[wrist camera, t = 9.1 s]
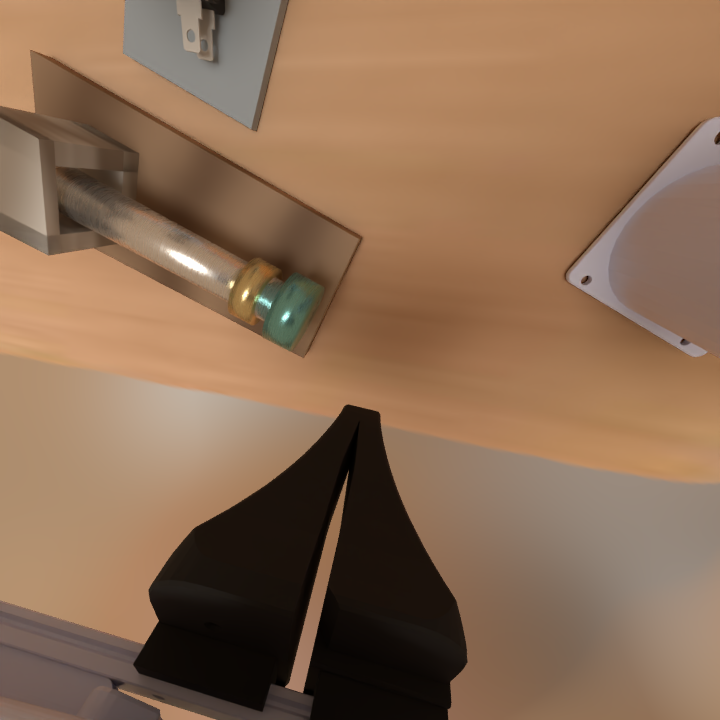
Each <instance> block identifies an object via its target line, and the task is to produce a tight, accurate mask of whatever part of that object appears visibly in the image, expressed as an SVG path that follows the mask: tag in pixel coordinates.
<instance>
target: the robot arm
mask: <svg viewBox="0 0 720 720" xmlns="http://www.w3.org/2000/svg"><path fill="white" fill-rule="evenodd" d="M719 132H720V117H714V118H710V119H707V120H705V121H703V122H702V123H701V124H700V125H698V126H697V127H696V129H695V130H694V131H693V132H692V133H691V134H690V135H689V136H688V137H687V139H686V140H685V141H684V142H683V143H682V144H681V145H680V146H679V148H678V149H677V150H676V151H675V152H674V153H673V154H672V155H671V156H670V158H669V159H668V160H667V161H666V162H665V163H664V164H663V165H662V166H661V168H660V169H659V170H658V171H657V172H656V173H655V174H654V175H653V177H652V178H651V179H650V180H649V181H648V182H647V183H646V184H645V185H644V187H643V188H642V189H641V190H640V191H639V192H638V193H637V194H636V196H635V197H634V198H633V199H632V200H631V201H630V202H629V203H628V204H627V206H626V207H625V208H624V209H623V210H622V211H621V212H620V213H619V214H618V216H617V217H616V218H615V219H614V220H613V221H612V222H611V223H610V225H609V226H608V227H607V228H606V229H605V230H604V231H603V232H602V233H601V235H600V236H599V237H598V238H597V239H596V240H595V241H594V242H593V243H592V245H591V246H590V247H589V248H588V249H587V250H586V251H585V252H584V254H583V255H582V256H581V257H580V258H579V259H578V260H577V261H576V262H575V264H574V265H573V266H572V267H571V268H570V269H569V270H568V272H567V273H566V280H567V281H568V282H569V283H571V284H572V285H574V286H576V287H577V288H579V289H581V290H582V291H584V292H585V293H587V294H589V295H590V296H592V297H594V298H595V299H597V300H599V301H600V302H602V303H604V304H605V305H607V306H609V307H610V308H612V309H614V310H615V311H617V312H619V313H620V314H622V315H623V316H625V317H627V318H628V319H630V320H632V321H633V322H635V323H637V324H638V325H640V326H642V327H643V328H645V329H647V330H648V331H650V332H652V333H653V334H655V335H656V336H658V337H660V338H661V339H663V340H665V341H666V342H668V343H670V344H671V345H673V346H675V347H676V348H678V349H680V350H681V351H683V352H685V353H686V354H688V355H690V356H692V357H699V356H702V355H704V354H706V353H707V352H709V353H711V354H713V355H715V356H717V357H719V358H720V141H719V143H717V144H715V143H714V139H715V137H716V135H717V134H718V133H719ZM585 276H588V280H587V281H586V282H585V283H582V284H581V280H582V278H583V277H585ZM682 339H685V341H683V342H681V340H682ZM348 471H349V474H348V480H347V487H346V495H345V501H344V508H343V514H342V521H341V528H340V533H339V538H338V543H337V547H336V552H335V556H334V561H333V565H332V569H331V574H330V578H329V582H328V586H327V591H326V595H325V599H324V604H323V608H322V613H321V617H320V621H319V626H318V630H317V635H316V639H315V643H314V647H313V652H312V656H311V661H310V665H309V669H308V674H307V678H306V682H305V687H304V691H303V693H300V692H297V691H294V690H291V689H288V688H285V686H286V685H287V684H288V683H289V681H290V677H291V673H292V669H293V665H294V660H295V657H296V652H297V649H298V645H299V641H300V637H301V633H302V629H303V625H304V621H305V617H306V613H307V609H308V606H309V601H310V598H311V594H312V590H313V585H314V582H315V578H316V574H317V570H318V566H319V562H320V559H321V555H322V551H323V547H324V543H325V539H326V535H327V532H328V529H329V525H330V522H331V519H332V516H333V514H334V510H335V508H336V505H337V502H338V499H339V496H340V493H341V490H342V488H343V485H344V482H345V479H346V476H347V473H348ZM149 597H150V602H151V604H152V606H153V608H154V610H155V613H156V615H157V617H158V619H159V622H158V623H157V625H156V627H155V629H154V630H153V632H152V633H151V635H150V637H149V638H148V640H147V642H146V643H145V645H144V644H140V643H137V642H134V641H130V640H127V639H124V638H121V637H117V636H114V635H111V634H108V633H105V632H101V631H98V630H95V629H92V628H88V627H85V626H81V625H78V624H75V623H72V622H69V621H65V620H62V619H59V618H56V617H52V616H49V615H46V614H42V613H39V612H36V611H33V610H29V609H26V608H23V607H19V606H16V605H13V604H10V603H7V602H3V601H0V720H162V718H161V717H160V710H159V709H157V708H155V707H153V706H151V705H148V704H146V703H144V702H142V701H140V700H137V699H135V698H133V697H131V696H128V695H126V694H124V693H122V692H120V691H118V688H119V689H122V690H125V691H128V692H131V693H135V694H138V695H141V696H144V697H147V698H150V699H153V700H157V701H160V702H163V703H166V704H169V705H172V706H176V707H179V708H182V709H185V710H188V711H191V712H195V713H198V714H201V715H204V716H207V717H210V718H213V719H216V720H448V709H449V708H450V707H451V690H450V681H451V680H453V679H454V678H455V677H456V676H457V675H458V674H459V673H460V672H461V671H462V670H463V669H464V667H465V665H466V663H467V649H466V641H465V636H464V631H463V626H462V622H461V617H460V614H459V610H458V606H457V602H456V600H455V598H454V596H453V595H452V593H451V591H450V590H449V588H448V587H447V585H446V584H445V582H444V581H443V579H442V577H441V576H440V574H439V572H438V571H437V569H436V567H435V566H434V564H433V562H432V560H431V559H430V557H429V555H428V553H427V552H426V550H425V548H424V546H423V544H422V542H421V540H420V538H419V536H418V534H417V532H416V530H415V529H414V526H413V524H412V522H411V521H410V519H409V516H408V514H407V512H406V510H405V507H404V505H403V503H402V500H401V498H400V495H399V493H398V490H397V487H396V485H395V482H394V479H393V476H392V473H391V470H390V466H389V463H388V459H387V455H386V451H385V447H384V443H383V437H382V431H381V423H380V413H379V412H377V411H373V410H369V409H365V408H361V407H357V406H352V405H346V406H344V408H343V410H342V411H341V413H340V414H339V416H338V417H337V419H336V420H335V421H334V423H333V424H332V425H331V426H330V427H329V429H328V430H327V431H326V432H325V433H324V434H323V436H321V438H320V439H319V440H318V441H317V442H316V443H315V444H314V445H313V446H312V447H311V448H310V449H309V450H308V451H307V452H306V453H305V454H304V455H303V456H302V457H300V458H299V459H298V460H297V461H296V462H295V463H294V464H292V465H291V466H290V467H289V468H288V469H286V470H285V471H284V472H283V473H281V474H280V475H279V476H277V477H276V478H275V479H273V480H272V481H271V482H269V483H268V484H267V485H265V486H264V487H262V488H261V489H260V490H258V491H256V492H255V493H253V494H252V495H250V496H249V497H247V498H246V499H244V500H242V501H241V502H239V503H238V504H236V505H235V506H233V507H231V508H230V509H228V510H226V511H224V512H223V513H221V514H219V515H217V516H216V517H213V518H212V519H210V520H208V521H206V522H204V523H202V524H201V525H199V526H197V527H195V528H194V529H193V530H192V531H191V532H190V534H189V535H188V536H187V537H186V538H185V539H184V540H183V542H182V543H181V544H180V545H179V546H178V548H177V549H176V550H175V551H174V552H173V554H172V555H171V557H170V558H169V559H168V561H167V562H166V564H165V565H164V567H163V568H162V570H161V571H160V573H159V574H158V576H157V577H156V579H155V580H154V582H153V583H152V585H151V587H150V588H149Z"/></svg>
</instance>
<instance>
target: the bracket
mask: <svg viewBox="0 0 720 720" xmlns="http://www.w3.org/2000/svg"><path fill="white" fill-rule="evenodd" d="M30 55H31V67H32V78H33V90H34V101H35V113H31V112H26V111H22V110H17V109H12V108H7V107H3V106H0V231H2V232H4V233H6V234H8V235H10V236H12V237H14V238H16V239H18V240H20V241H22V242H23V243H25V244H27V245H29V246H31V247H33V248H35V249H37V250H39V251H41V252H43V253H45V254H47V255H54V254H60V253H66V252H72V251H78V250H84V249H90V248H95V249H97V250H98V251H100V252H102V253H104V254H106V255H108V256H110V257H112V258H114V259H116V260H118V261H119V262H121V263H123V264H125V265H127V266H129V267H131V268H133V269H135V270H137V271H139V272H140V273H142V274H144V275H146V276H148V277H150V278H152V279H154V280H156V281H158V282H159V283H161V284H163V285H165V286H167V287H169V288H171V289H173V290H175V291H177V292H179V293H180V294H182V295H184V296H186V297H188V298H190V299H192V300H194V301H196V302H198V303H200V304H201V305H203V306H205V307H207V308H209V309H211V310H213V311H215V312H217V313H219V314H221V315H222V316H224V317H226V318H228V319H230V320H232V321H234V322H236V323H238V324H240V325H241V326H243V327H245V328H247V329H249V330H251V331H253V332H255V333H257V334H259V335H261V336H262V329H263V324H264V321H263V320H260V321H259V322H258V323H257V324H255V325H250V324H249V323H247V322H245V321H243V320H241V319H239V318H237V317H235V316H233V315H231V314H230V313H229V311H228V302H227V301H225V300H223V299H221V298H219V297H217V296H215V295H213V294H212V293H210V292H208V291H206V290H204V289H202V288H200V287H198V286H196V285H195V284H193V283H191V282H189V281H187V280H185V279H183V278H181V277H180V276H178V275H176V274H174V273H172V272H170V271H168V270H166V269H164V268H163V267H161V266H159V265H157V264H155V263H153V262H151V261H149V260H147V259H146V258H144V257H142V256H140V255H138V254H136V253H134V252H132V251H130V250H129V249H127V248H125V247H123V246H121V245H119V244H117V243H115V242H113V241H112V240H110V239H108V238H106V237H104V236H102V235H100V234H98V233H96V232H95V231H93V230H91V229H89V228H87V227H85V226H83V225H81V224H79V223H78V222H76V221H74V220H72V219H70V218H68V217H66V216H64V215H62V214H61V213H59V212H58V197H57V181H56V166H60V167H73V168H76V169H78V170H80V171H82V172H84V173H86V174H87V175H89V176H91V177H93V178H95V179H96V180H98V181H100V182H102V183H104V184H106V185H107V186H109V187H111V188H113V189H115V190H117V191H118V192H120V193H122V194H124V195H126V196H128V197H129V198H131V199H133V200H135V201H137V202H139V203H140V204H142V205H144V206H146V207H148V208H150V209H151V210H153V211H155V212H157V213H159V214H160V215H162V216H164V217H166V218H168V219H170V220H171V221H173V222H175V223H177V224H179V225H181V226H182V227H184V228H186V229H188V230H190V231H192V232H193V233H195V234H197V235H199V236H201V237H203V238H204V239H206V240H208V241H210V242H212V243H214V244H215V245H217V246H219V247H221V248H223V249H224V250H226V251H228V252H230V253H232V254H234V255H235V256H237V257H239V258H241V259H243V260H245V261H246V262H248V263H249V262H250V261H251V260H252V259H254V258H261V259H262V260H264V261H266V262H268V263H270V264H271V265H273V266H275V267H277V268H279V269H280V270H281V271H282V281H283V282H286V280H287V279H288V278H289V277H290V276H291V275H292V274H293V273H295V272H298V273H299V274H301V275H303V276H305V277H307V278H309V279H310V280H312V281H314V282H316V283H318V284H319V285H321V286H323V287H324V288H325V290H324V294H323V297H322V300H321V302H320V304H319V307H318V309H317V311H316V313H315V315H314V317H313V319H312V321H311V323H310V325H309V327H308V328H307V330H306V332H305V334H304V335H303V337H302V338H301V340H300V341H299V343H298V344H297V346H296V347H295V348H294V349H293V350H292V351H291V352H293V353H295V354H297V355H299V356H301V357H303V358H304V356H305V355H306V353H307V352H308V350H309V348H310V346H311V344H312V342H313V340H314V338H315V335H316V333H317V331H318V329H319V327H320V325H321V323H322V321H323V319H324V317H325V314H326V312H327V310H328V308H329V306H330V304H331V302H332V300H333V298H334V296H335V293H336V291H337V289H338V287H339V285H340V283H341V281H342V279H343V277H344V275H345V272H346V270H347V268H348V266H349V264H350V262H351V260H352V258H353V256H354V254H355V251H356V249H357V247H358V245H359V243H360V241H361V239H362V237H361V236H359V235H357V234H356V233H354V232H352V231H351V230H349V229H347V228H345V227H344V226H342V225H340V224H338V223H337V222H335V221H333V220H331V219H330V218H328V217H326V216H325V215H323V214H321V213H319V212H318V211H316V210H314V209H312V208H311V207H309V206H307V205H306V204H304V203H302V202H300V201H299V200H297V199H295V198H293V197H292V196H290V195H288V194H286V193H285V192H283V191H281V190H280V189H278V188H276V187H274V186H273V185H271V184H269V183H267V182H266V181H264V180H262V179H260V178H259V177H257V176H255V175H254V174H252V173H250V172H248V171H247V170H245V169H243V168H241V167H240V166H238V165H236V164H235V163H233V162H231V161H229V160H228V159H226V158H224V157H222V156H221V155H219V154H217V153H215V152H214V151H212V150H210V149H209V148H207V147H205V146H203V145H202V144H200V143H198V142H196V141H195V140H193V139H191V138H189V137H188V136H186V135H184V134H183V133H181V132H179V131H177V130H176V129H174V128H172V127H170V126H169V125H167V124H165V123H164V122H162V121H160V120H158V119H157V118H155V117H153V116H151V115H150V114H148V113H146V112H144V111H143V110H141V109H139V108H138V107H136V106H134V105H132V104H131V103H129V102H127V101H125V100H124V99H122V98H120V97H118V96H117V95H115V94H113V93H112V92H110V91H108V90H106V89H105V88H103V87H101V86H99V85H98V84H96V83H94V82H93V81H91V80H89V79H87V78H86V77H84V76H82V75H80V74H79V73H77V72H75V71H73V70H72V69H70V68H68V67H67V66H65V65H63V64H61V63H60V62H58V61H56V60H54V59H53V58H51V57H48V56H46V55H43V54H40V53H38V52H35V51H32V50H30Z"/></svg>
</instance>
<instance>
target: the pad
mask: <svg viewBox="0 0 720 720" xmlns="http://www.w3.org/2000/svg"><path fill="white" fill-rule="evenodd" d="M287 3H288V0H225V13H224V15H218V14H214V16H215V30H212V38H213V58H214V60H213V61H207V60H201V59H199V58H198V57H197V53H194V52H189V51H186V50H185V49H184V46H183V34H182V23H181V16H180V15H178V14H177V4H176V0H125V16H124V43H123V54H125V55H127V56H129V57H130V58H132V59H134V60H135V61H137V62H139V63H140V64H142V65H144V66H145V67H147V68H149V69H150V70H152V71H154V72H156V73H157V74H159V75H161V76H162V77H164V78H166V79H167V80H169V81H171V82H172V83H174V84H176V85H177V86H179V87H181V88H183V89H184V90H186V91H188V92H189V93H191V94H193V95H194V96H196V97H198V98H199V99H201V100H203V101H205V102H206V103H208V104H210V105H211V106H213V107H215V108H216V109H218V110H220V111H221V112H223V113H225V114H226V115H228V116H230V117H232V118H233V119H235V120H237V121H238V122H240V123H242V124H243V125H245V126H247V127H248V128H250V129H252V130H255V131H257V127H258V123H259V119H260V115H261V111H262V107H263V103H264V98H265V94H266V90H267V86H268V82H269V78H270V74H271V69H272V65H273V61H274V57H275V53H276V49H277V45H278V41H279V36H280V32H281V28H282V24H283V20H284V16H285V12H286V7H287ZM188 39H189V41H190V42H192V43H193V42H194V41H195V33H194V31H193V30H190V31H189V32H188ZM201 48H202V50H203V51H207V49H208V43H207V41H206V40H202V41H201Z"/></svg>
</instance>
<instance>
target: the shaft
mask: <svg viewBox="0 0 720 720" xmlns="http://www.w3.org/2000/svg"><path fill="white" fill-rule="evenodd" d="M56 181H57V197H58V212H59V213H61V214H62V215H64V216H66V217H68V218H70V219H72V220H74V221H76V222H78V223H79V224H81V225H83V226H85V227H87V228H89V229H91V230H93V231H95V232H96V233H98V234H100V235H102V236H104V237H106V238H108V239H110V240H112V241H113V242H115V243H117V244H119V245H121V246H123V247H125V248H127V249H129V250H130V251H132V252H134V253H136V254H138V255H140V256H142V257H144V258H146V259H147V260H149V261H151V262H153V263H155V264H157V265H159V266H161V267H163V268H164V269H166V270H168V271H170V272H172V273H174V274H176V275H178V276H180V277H181V278H183V279H185V280H187V281H189V282H191V283H193V284H195V285H196V286H198V287H200V288H202V289H204V290H206V291H208V292H210V293H212V294H213V295H215V296H217V297H219V298H221V299H223V300H225V301H227V302H228V311H229V313H230V314H231V315H233V316H235V317H237V318H239V319H241V320H243V321H245V322H247V323H249V324H250V325H255V324H257V323H258V322H259V321H260V320H263V321H264V324H263V329H262V337H263V338H265V339H267V340H269V341H271V342H273V343H275V344H277V345H278V346H280V347H282V348H284V349H286V350H288V351H290V352H291V351H292V350H293V349H294V348H295V347H296V346H297V344H298V343H299V341H300V340H301V338H302V337H303V335H304V334H305V332H306V330H307V328H308V327H309V325H310V323H311V321H312V319H313V317H314V315H315V313H316V311H317V309H318V307H319V304H320V302H321V300H322V297H323V294H324V290H325V288H324V287H323V286H321V285H319V284H318V283H316V282H314V281H312V280H310V279H309V278H307V277H305V276H303V275H301V274H299V273H298V272H295V273H293V274H292V275H291V276H290V277H289V278H288V279H287V280H286V282H283V281H282V271H281V270H280V269H279V268H277V267H275V266H273V265H271V264H270V263H268V262H266V261H264V260H262V259H261V258H254V259H252V260H251V261H250V262H249V263H248V262H246V261H245V260H243V259H241V258H239V257H237V256H235V255H234V254H232V253H230V252H228V251H226V250H224V249H223V248H221V247H219V246H217V245H215V244H214V243H212V242H210V241H208V240H206V239H204V238H203V237H201V236H199V235H197V234H195V233H193V232H192V231H190V230H188V229H186V228H184V227H182V226H181V225H179V224H177V223H175V222H173V221H171V220H170V219H168V218H166V217H164V216H162V215H160V214H159V213H157V212H155V211H153V210H151V209H150V208H148V207H146V206H144V205H142V204H140V203H139V202H137V201H135V200H133V199H131V198H129V197H128V196H126V195H124V194H122V193H120V192H118V191H117V190H115V189H113V188H111V187H109V186H107V185H106V184H104V183H102V182H100V181H98V180H96V179H95V178H93V177H91V176H89V175H87V174H86V173H84V172H82V171H80V170H78V169H76V168H73V167H60V166H56Z"/></svg>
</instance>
